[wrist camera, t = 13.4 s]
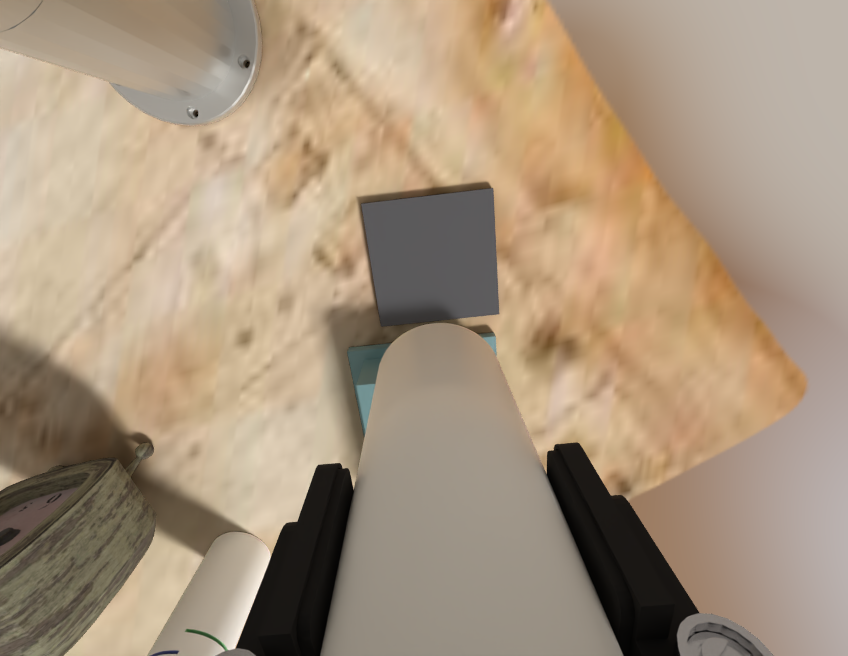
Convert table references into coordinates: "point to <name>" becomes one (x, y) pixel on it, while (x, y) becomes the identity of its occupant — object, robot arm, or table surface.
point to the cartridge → (456, 520)
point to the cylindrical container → (216, 599)
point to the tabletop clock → (68, 551)
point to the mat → (433, 256)
